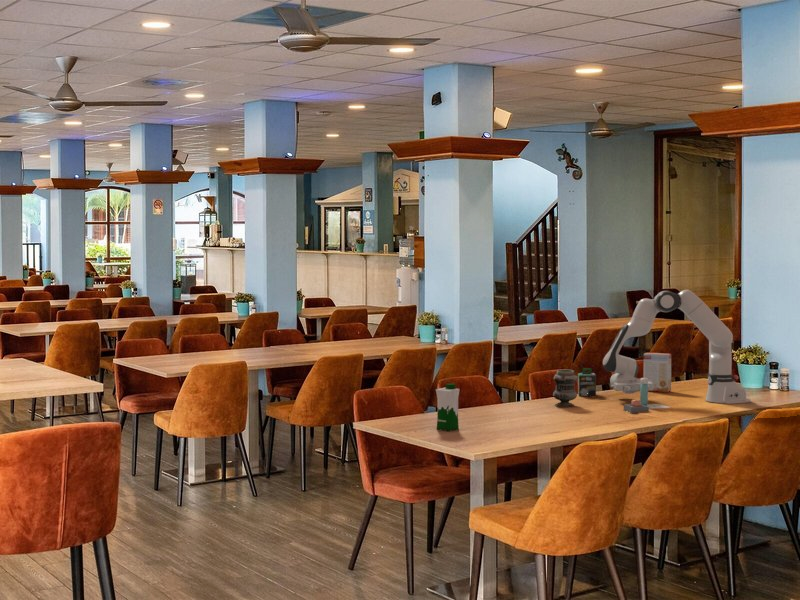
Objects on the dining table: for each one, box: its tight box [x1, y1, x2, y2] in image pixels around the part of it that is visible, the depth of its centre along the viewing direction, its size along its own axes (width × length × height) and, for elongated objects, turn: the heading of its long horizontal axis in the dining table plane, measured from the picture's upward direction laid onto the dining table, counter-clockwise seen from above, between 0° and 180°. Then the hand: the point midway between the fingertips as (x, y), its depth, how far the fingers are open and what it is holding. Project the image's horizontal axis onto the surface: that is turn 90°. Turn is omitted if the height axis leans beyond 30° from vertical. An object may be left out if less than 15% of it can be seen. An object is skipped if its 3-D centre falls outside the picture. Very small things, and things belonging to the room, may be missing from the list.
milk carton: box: [435, 382, 460, 432], centre depth 448 cm, size 9×9×20 cm
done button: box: [630, 399, 641, 407], centre depth 492 cm, size 4×4×4 cm
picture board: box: [647, 403, 672, 410], centre depth 504 cm, size 18×14×1 cm
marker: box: [639, 377, 649, 406], centre depth 503 cm, size 4×4×14 cm
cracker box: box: [642, 352, 672, 393], centre depth 556 cm, size 14×6×21 cm, turn 59°
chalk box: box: [577, 367, 597, 397], centre depth 543 cm, size 9×9×15 cm
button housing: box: [623, 403, 650, 414], centre depth 492 cm, size 9×9×3 cm
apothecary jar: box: [552, 368, 578, 408], centre depth 509 cm, size 12×12×18 cm
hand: (639, 388), depth 508 cm, fingers open, 8 cm apart
